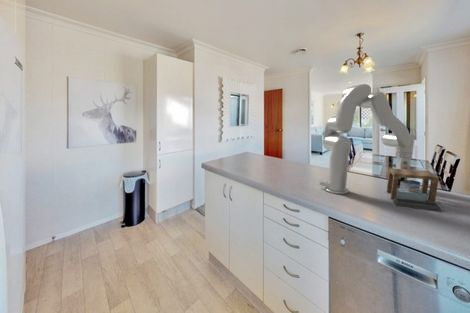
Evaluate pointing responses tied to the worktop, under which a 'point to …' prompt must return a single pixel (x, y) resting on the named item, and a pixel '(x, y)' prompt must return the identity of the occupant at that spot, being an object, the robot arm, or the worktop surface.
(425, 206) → the dark grey flat slab
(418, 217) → the worktop surface
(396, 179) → the tunnel
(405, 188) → the medicine box
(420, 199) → the grey-green low block
